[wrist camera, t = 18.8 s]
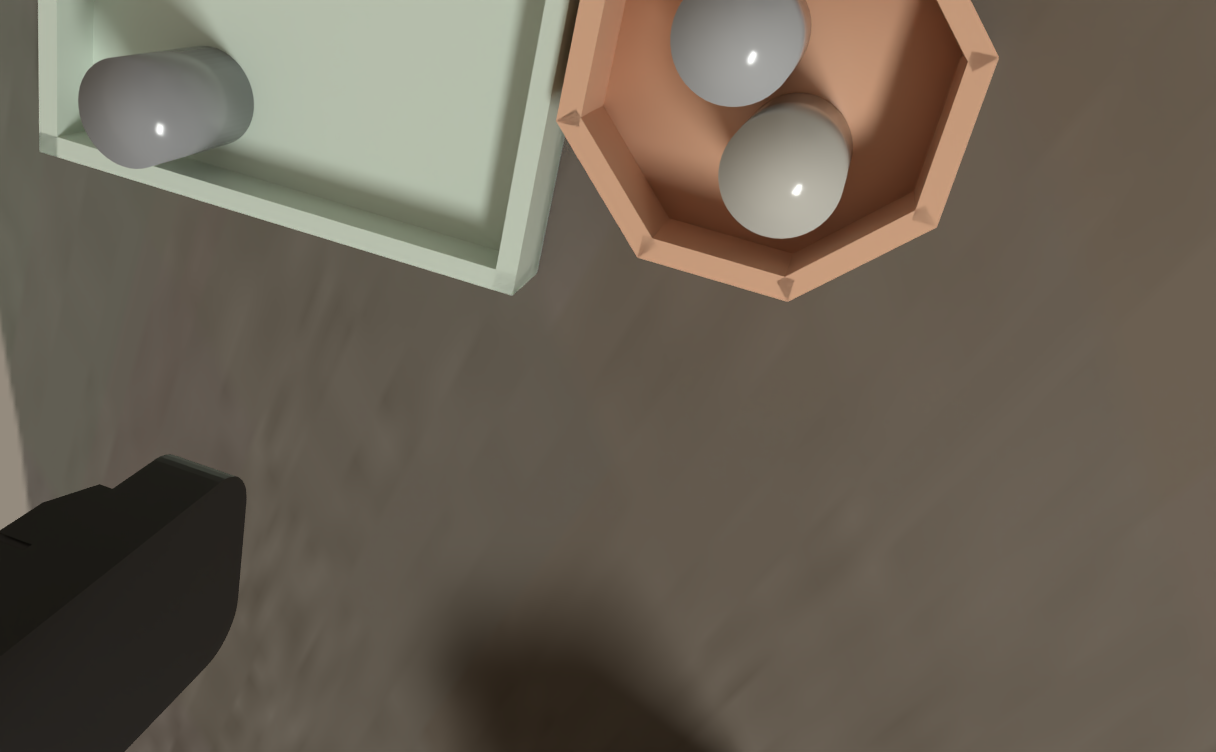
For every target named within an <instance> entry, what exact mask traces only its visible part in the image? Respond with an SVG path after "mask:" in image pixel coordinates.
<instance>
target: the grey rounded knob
mask: <svg viewBox="0 0 1216 752" xmlns="http://www.w3.org/2000/svg"><path fill="white" fill-rule="evenodd" d="M78 107H79V114H80V118H81V121H82V124H83V127H84V129H85V131H86V133H87V135H88V137H89V138H90V140H91V142H92V143H93V144H94V145H95V147H96V148H97V149H98V150H99V151H100V152H101V153H102V154H103V155H104V156H105V157H107V158H108V159H109V160H111V161H112V162H114V163H116V164H118V165H121V166H123V167H127V168H131V169H143V168H148V167H151V166H155V165H158V164H162V163H165V162H169V161H172V160H176V159H179V158H182V157H186V156H189V155H193V154H196V153H200V152H203V151H207V150H210V149H213V148H217V147H220V146H224V145H227V144H230V143H233V142H235V141H236V140H238V139H239V138H240V137H242V136H243V135H244V133H245V132H246V131H247V129H248V128H249V126H250V123H251V121H252V117H253V112H254V98H253V92H252V88H251V85H250V82H249V80H248V78H247V76H246V74H245V72H244V71H243V69H242V68H241V67H240V65H239V64H238V63H237V62H236V61H235V60H234V59H233V58H232V57H231V56H230V55H228V54H227V53H225V52H223V51H222V50H220V49H217V48H214V47H210V46H202V45H201V46H193V47H185V48H178V49H170V50H163V51H156V52H148V53H141V54H134V55H126V56H119V57H112V58H106V59H103V60H101V61H98V62H97V63H95V64H94V65H93V66H92V67H91V68H89V69H88V71H87V72H86V74H85V75H84V77H83V79H82V82H81V85H80V88H79V94H78Z"/></svg>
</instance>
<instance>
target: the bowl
mask: <svg viewBox="0 0 1216 752" xmlns="http://www.w3.org/2000/svg"><path fill="white" fill-rule="evenodd" d="M682 1H683V0H580V2H579V7H578V12H577V17H576V22H575V27H574V32H573V37H572V42H571V48H570V53H569V58H568V63H567V68H566V73H565V78H564V83H563V88H562V93H561V98H560V103H559V108H558V113H557V118H556V122H557V124H558V125H559V127H560V129H561V130H562V132H563V134H564V135H565V137H566V139H567V140H568V142H569V144H570V145H571V147H572V149H573V150H574V152H575V154H576V155H577V157H578V159H579V160H580V162H581V164H582V165H583V167H584V169H585V170H586V172H587V174H588V175H589V177H590V179H591V181H592V182H593V184H594V186H595V187H596V189H597V191H598V192H599V194H600V196H601V197H602V199H603V201H604V202H605V204H606V206H607V207H608V209H609V211H610V212H611V214H612V216H613V217H614V219H615V221H616V222H617V224H618V226H619V227H620V229H621V231H622V232H623V234H624V236H625V237H626V239H627V241H628V242H629V244H630V246H631V247H632V249H633V251H634V252H635V254H636V256H637V258H641V259H644V260H648V261H651V262H654V263H658V264H661V265H665V266H668V267H671V268H675V269H678V270H682V271H685V272H688V273H692V274H695V275H699V276H702V277H705V278H709V279H712V280H716V281H719V282H722V283H726V284H729V285H733V286H736V287H739V288H743V289H746V290H750V291H753V292H756V293H760V294H763V295H767V296H770V297H773V298H777V299H780V300H784V301H787V302H788V301H790V300H792V299H794V298H796V297H798V296H800V295H802V294H804V293H806V292H808V291H810V290H812V289H814V288H816V287H818V286H820V285H822V284H824V283H826V282H828V281H830V280H832V279H834V278H836V277H838V276H840V275H842V274H844V273H846V272H848V271H850V270H852V269H854V268H856V267H858V266H860V265H862V264H864V263H866V262H868V261H870V260H872V259H874V258H876V257H878V256H880V255H882V254H884V253H886V252H888V251H890V250H892V249H894V248H896V247H898V246H900V245H902V244H904V243H906V242H908V241H910V240H912V239H914V238H916V237H918V236H920V235H922V234H924V233H926V232H928V231H930V230H932V229H934V228H936V227H937V225H938V223H939V220H940V217H941V214H942V212H943V209H944V206H945V203H946V201H947V198H948V195H949V193H950V190H951V187H952V184H953V182H954V179H955V176H956V173H957V171H958V168H959V165H960V163H961V160H962V157H963V154H964V152H965V149H966V146H967V143H968V141H969V138H970V135H971V132H972V130H973V127H974V124H975V122H976V119H977V116H978V113H979V111H980V108H981V105H982V102H983V100H984V97H985V94H986V92H987V89H988V86H989V83H990V81H991V78H992V75H993V72H994V70H995V67H996V64H997V62H998V59H999V57H998V55H997V52H996V50H995V48H994V46H993V44H992V42H991V40H990V38H989V36H988V34H987V32H986V30H985V28H984V26H983V24H982V22H981V20H980V18H979V16H978V14H977V12H976V10H975V8H974V6H973V4H972V2H971V0H806V1H807V4H808V7H809V10H810V15H811V25H812V26H811V36H810V41H809V44H808V47H807V50H806V52H805V54H804V56H803V58H802V59H801V61H800V63H799V64H798V65H797V66H796V68H795V69H794V70H793V71H792V73H791V74H790V75H789V77H788V78H787V79H786V80H785V82H784V83H783V84H782V85H781V86H780V87H779V88H778V89H777V90H776V91H775V92H774V93H772V94H771V95H770V96H768V97H767V98H765V99H763V100H761V101H759V102H756V103H754V104H750V105H746V106H740V107H727V106H720V105H717V104H713V103H711V102H708V101H706V100H704V99H703V98H701V97H699V96H698V95H696V94H695V93H694V92H693V91H692V90H691V89H690V88H689V87H688V86H687V85H686V84H685V83H684V81H683V80H682V78H681V77H680V75H679V73H678V72H677V70H676V67H675V64H674V62H673V58H672V54H671V46H670V35H671V27H672V23H673V19H674V16H675V14H676V11H677V9H678V7H679V6H680V4H681V2H682ZM795 92H797V93H809V94H813V95H817V96H819V97H821V98H824V99H825V100H827V101H829V102H830V103H831V104H833V105H834V106H835V107H836V108H837V109H838V110H839V111H840V112H841V113H842V115H843V116H844V118H845V119H846V121H847V123H848V125H849V128H850V131H851V135H852V140H853V154H852V159H851V163H850V167H849V171H848V174H847V178H846V182H845V185H844V189H843V192H842V195H841V198H840V201H839V203H838V205H837V207H836V208H835V210H834V211H833V213H832V214H831V215H830V216H829V217H828V219H827V220H826V221H824V222H823V223H822V224H821V225H820V226H818V227H817V228H815V229H814V230H812V231H810V232H808V233H806V234H803V235H800V236H797V237H792V238H784V239H779V238H770V237H765V236H762V235H758V234H756V233H754V232H752V231H750V230H748V229H747V228H745V227H744V226H742V225H741V224H740V223H739V222H738V221H737V220H736V219H735V218H734V217H733V216H732V215H731V213H730V212H729V210H728V209H727V207H726V205H725V203H724V201H723V199H722V196H721V193H720V188H719V181H718V171H719V165H720V160H721V157H722V154H723V152H724V149H725V147H726V146H727V144H728V142H729V141H730V139H731V138H732V137H733V136H734V134H735V133H736V132H737V131H738V130H739V129H740V128H741V127H742V126H743V125H744V124H745V123H746V122H747V121H748V119H749V118H750V117H751V116H752V115H753V114H754V113H755V112H756V111H757V110H758V109H759V108H760V107H761V106H762V105H764V104H765V103H766V102H768V101H770V100H771V99H773V98H775V97H778V96H780V95H784V94H788V93H795Z"/></svg>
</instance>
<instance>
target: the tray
mask: <svg viewBox="0 0 1216 752" xmlns="http://www.w3.org/2000/svg"><path fill="white" fill-rule="evenodd" d="M579 2H580V0H38V50H39V150H40V152H43V153H46V154H49V155H52V156H56V157H59V158H62V159H66V160H69V161H72V162H75V163H79V164H82V165H85V166H89V167H92V168H95V169H98V170H102V171H105V172H108V173H111V174H115V175H118V176H121V177H125V178H128V179H131V180H134V181H138V182H141V183H144V184H148V185H151V186H154V187H157V188H161V189H164V190H167V191H171V192H174V193H177V194H180V195H184V196H187V197H190V198H194V199H197V200H200V201H203V202H207V203H210V204H213V205H216V206H220V207H223V208H226V209H230V210H233V211H236V212H239V213H243V214H246V215H249V216H253V217H256V218H259V219H262V220H266V221H269V222H272V223H276V224H279V225H282V226H285V227H289V228H292V229H295V230H299V231H302V232H305V233H308V234H312V235H315V236H318V237H321V238H325V239H328V240H331V241H335V242H338V243H341V244H344V245H348V246H351V247H354V248H358V249H361V250H364V251H367V252H371V253H374V254H377V255H381V256H384V257H387V258H390V259H394V260H397V261H400V262H404V263H407V264H410V265H413V266H417V267H420V268H423V269H426V270H430V271H433V272H436V273H440V274H443V275H446V276H449V277H453V278H456V279H459V280H463V281H466V282H469V283H472V284H476V285H479V286H482V287H486V288H489V289H492V290H495V291H499V292H502V293H505V294H509V295H512V296H513V295H514V294H515V293H516V292H517V291H518V290H519V289H520V288H521V287H522V286H524V285H525V284H526V283H527V282H528V281H529V280H530V279H531V278H532V277H533V276H535V275H536V274H537V271H538V266H539V261H540V257H541V252H542V247H543V242H544V237H545V232H546V227H547V222H548V217H549V212H550V207H551V202H552V197H553V192H554V187H555V182H556V178H557V173H558V168H559V163H560V158H561V153H562V148H563V143H564V138H565V135H564V134H563V132H562V130H561V129H560V127H559V125H558V124H557V122H556V118H557V113H558V108H559V103H560V98H561V93H562V88H563V83H564V78H565V73H566V68H567V63H568V58H569V53H570V48H571V42H572V37H573V32H574V27H575V22H576V17H577V12H578V7H579ZM201 45H202V46H210V47H214V48H217V49H220V50H222V51H223V52H225V53H227V54H228V55H230V56H231V57H232V58H233V59H234V60H235V61H236V62H237V63H238V64H239V65H240V67H241V68H242V69H243V71H244V72H245V74H246V76H247V78H248V80H249V82H250V85H251V88H252V92H253V98H254V112H253V117H252V121H251V123H250V126H249V128H248V129H247V131H246V132H245V133H244V135H243V136H242V137H240V138H239V139H238V140H236V141H235V142H233V143H230V144H227V145H224V146H220V147H217V148H213V149H210V150H207V151H203V152H200V153H196V154H193V155H189V156H186V157H182V158H179V159H176V160H172V161H169V162H165V163H162V164H158V165H155V166H151V167H148V168H143V169H131V168H127V167H123V166H121V165H118V164H116V163H114V162H112V161H111V160H109V159H108V158H107V157H105V156H104V155H103V154H102V153H101V152H100V151H99V150H98V149H97V148H96V147H95V145H94V144H93V143H92V142H91V140H90V138H89V137H88V135H87V133H86V131H85V129H84V127H83V124H82V121H81V118H80V114H79V107H78V94H79V88H80V85H81V82H82V79H83V77H84V75H85V74H86V72H87V71H88V69H89V68H91V67H92V66H93V65H94V64H95V63H97V62H98V61H101V60H103V59H106V58H112V57H119V56H126V55H134V54H141V53H148V52H156V51H163V50H170V49H178V48H185V47H193V46H201Z"/></svg>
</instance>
